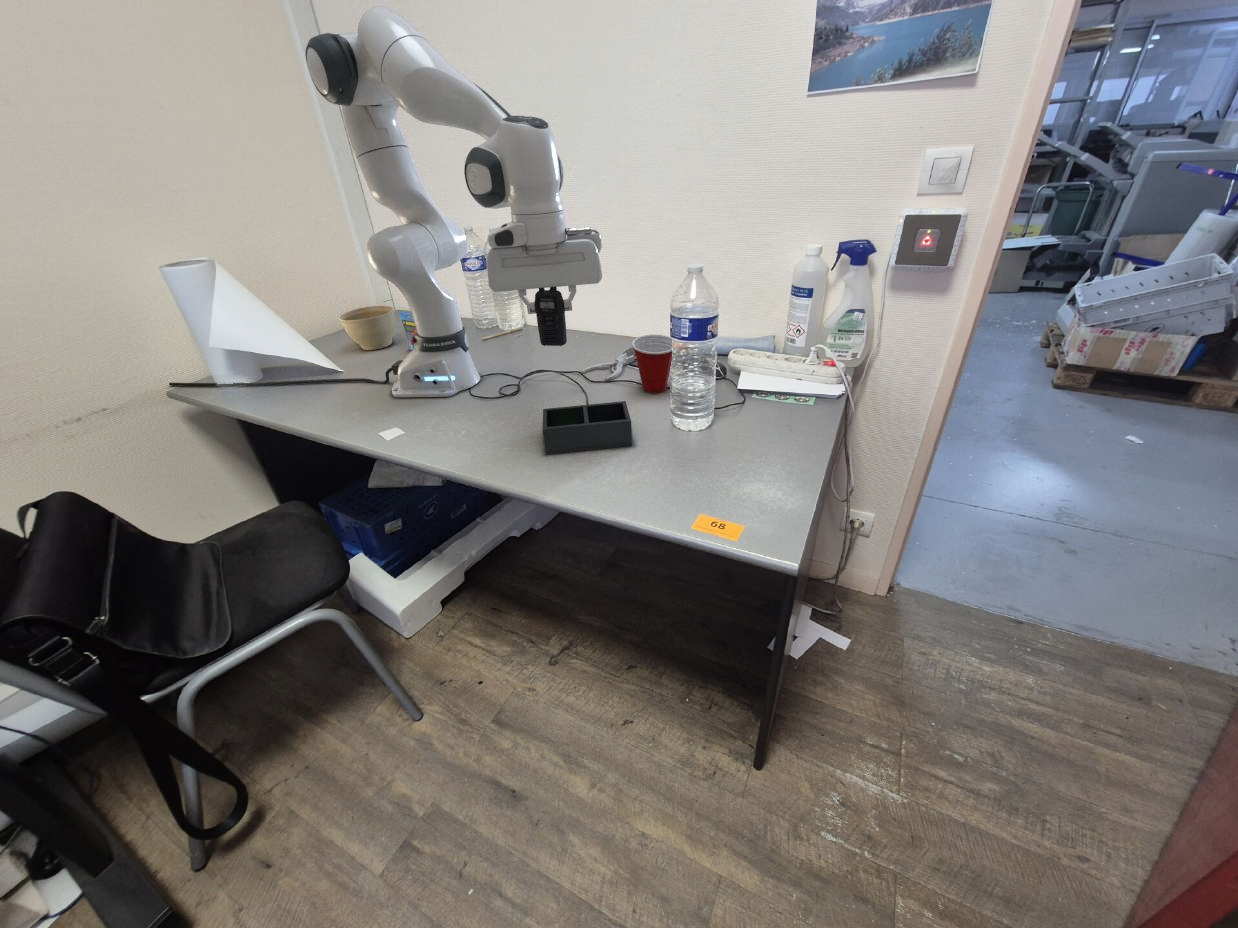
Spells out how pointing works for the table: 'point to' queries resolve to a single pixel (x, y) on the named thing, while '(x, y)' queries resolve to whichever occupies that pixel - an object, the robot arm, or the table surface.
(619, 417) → the box
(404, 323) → the tape cartridge
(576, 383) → the table surface
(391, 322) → the planter bowl
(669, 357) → the plastic cup
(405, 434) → the table surface
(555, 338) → the two-way radio
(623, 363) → the pliers
